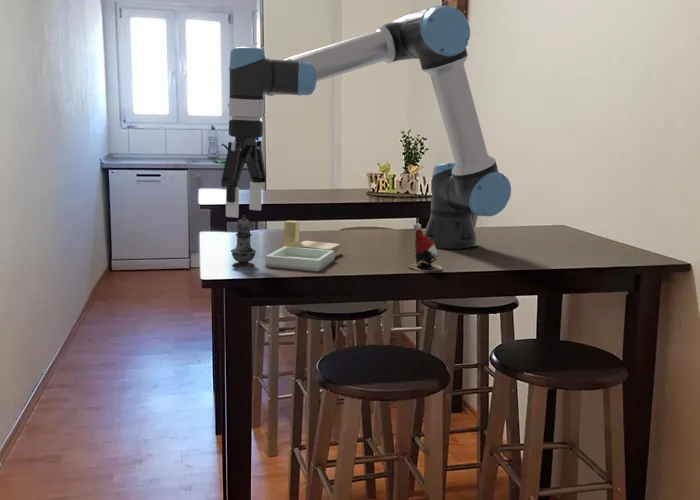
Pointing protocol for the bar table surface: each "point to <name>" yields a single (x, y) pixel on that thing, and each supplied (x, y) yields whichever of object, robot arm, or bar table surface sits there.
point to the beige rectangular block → (320, 246)
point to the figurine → (424, 252)
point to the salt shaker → (243, 245)
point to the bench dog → (291, 233)
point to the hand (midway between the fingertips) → (244, 213)
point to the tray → (300, 258)
